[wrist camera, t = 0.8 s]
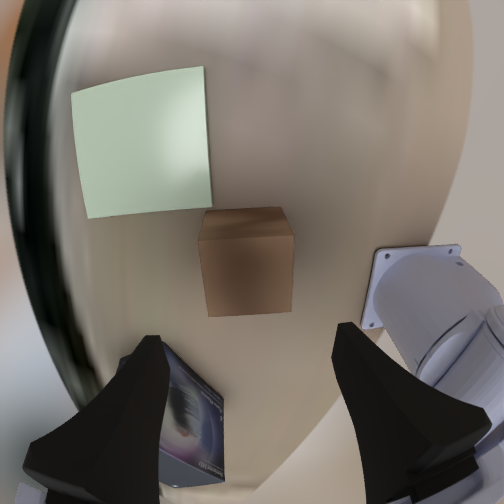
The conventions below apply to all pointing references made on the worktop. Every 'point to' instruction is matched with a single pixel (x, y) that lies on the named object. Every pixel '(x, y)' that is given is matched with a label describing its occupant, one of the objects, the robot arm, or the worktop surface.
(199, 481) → the small box
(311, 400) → the worktop surface
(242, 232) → the walnut cube
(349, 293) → the worktop surface
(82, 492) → the robot arm
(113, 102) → the plate
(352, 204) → the worktop surface
